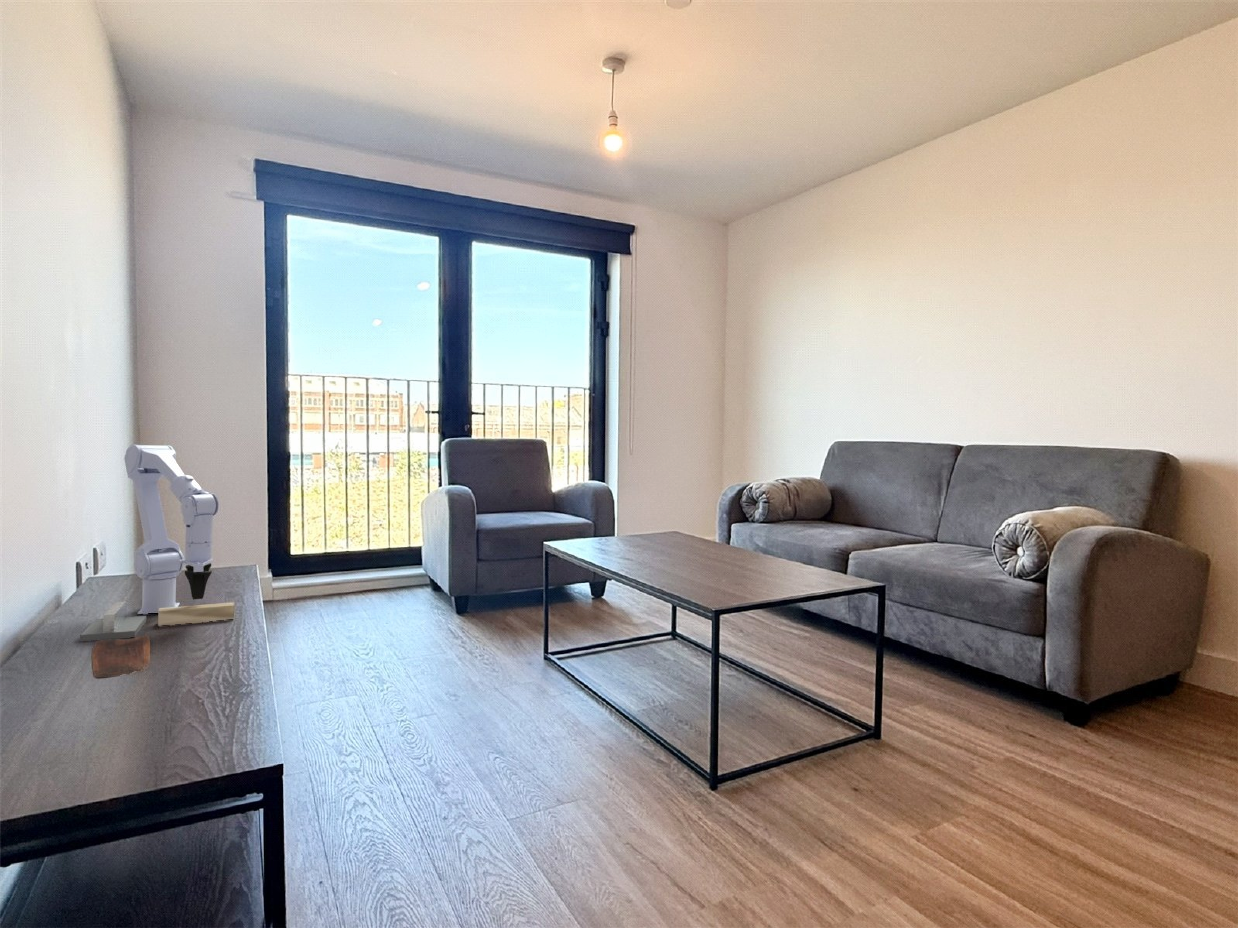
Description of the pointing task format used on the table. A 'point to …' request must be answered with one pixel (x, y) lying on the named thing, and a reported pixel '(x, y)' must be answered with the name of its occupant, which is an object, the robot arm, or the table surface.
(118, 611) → the steel ridge
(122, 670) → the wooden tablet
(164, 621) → the maple bar
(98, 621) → the grey slab
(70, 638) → the table surface
